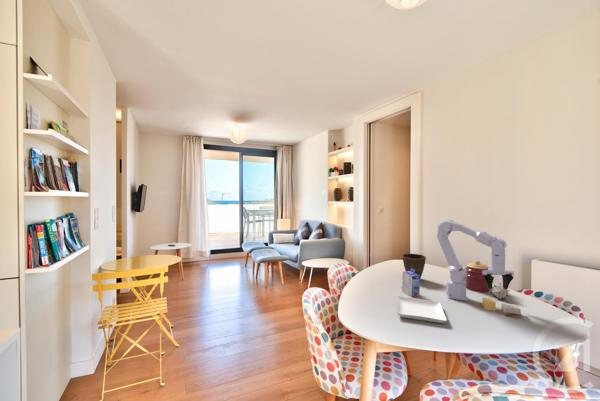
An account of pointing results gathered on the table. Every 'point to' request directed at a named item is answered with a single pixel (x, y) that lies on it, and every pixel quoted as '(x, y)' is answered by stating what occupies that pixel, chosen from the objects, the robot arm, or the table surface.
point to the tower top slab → (511, 308)
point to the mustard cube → (489, 304)
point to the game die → (499, 291)
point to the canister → (476, 277)
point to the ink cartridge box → (411, 283)
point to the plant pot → (414, 263)
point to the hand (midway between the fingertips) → (497, 288)
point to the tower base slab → (511, 314)
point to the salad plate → (420, 309)
